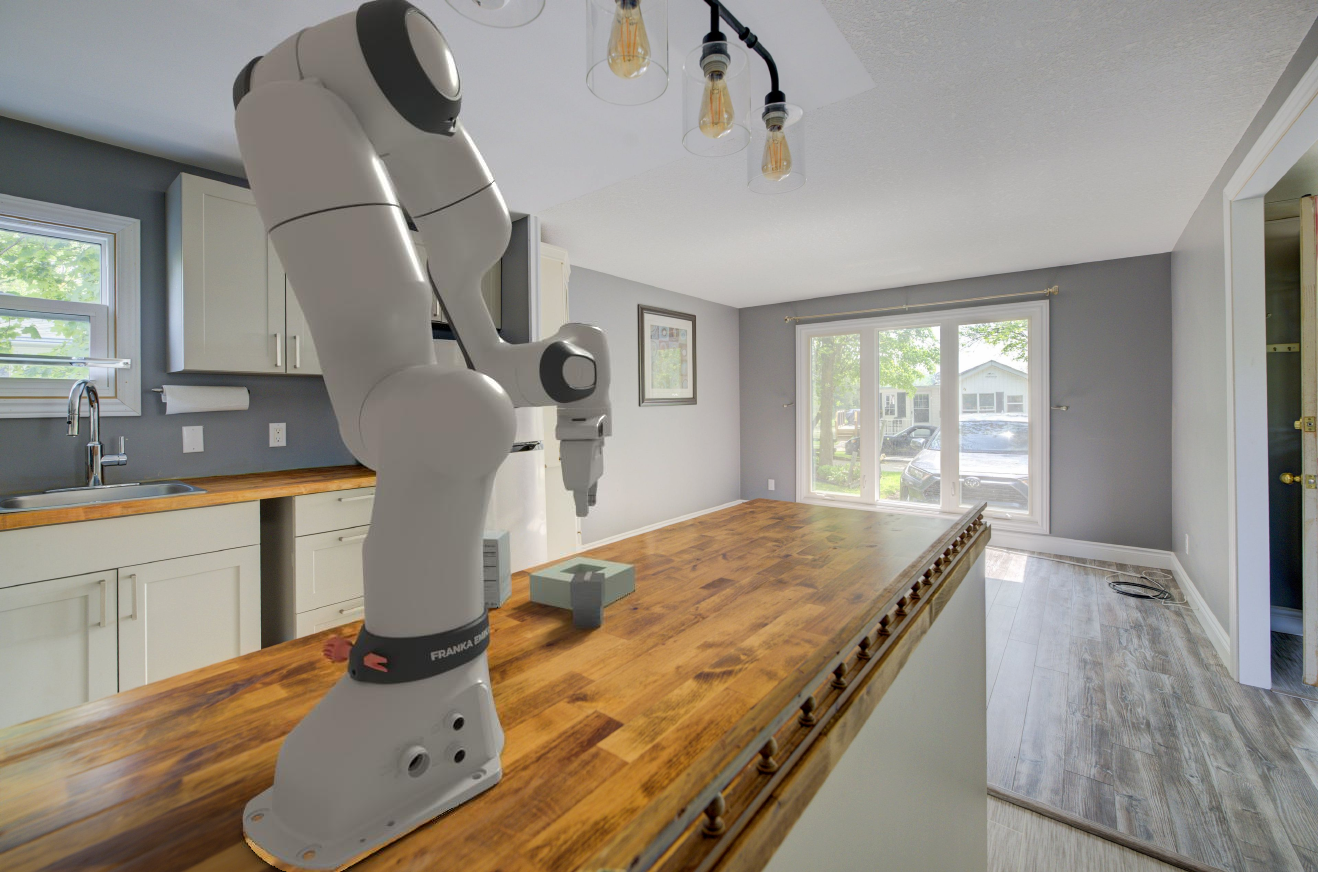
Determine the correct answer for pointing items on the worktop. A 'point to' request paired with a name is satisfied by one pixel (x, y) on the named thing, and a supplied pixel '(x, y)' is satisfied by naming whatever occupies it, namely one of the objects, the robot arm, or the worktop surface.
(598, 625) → the knob
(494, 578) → the supplement box
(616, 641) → the worktop surface
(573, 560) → the block
